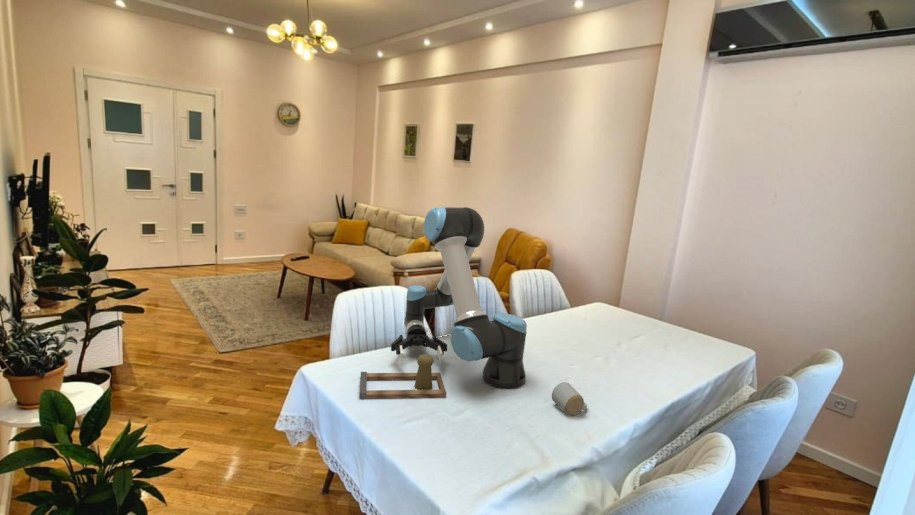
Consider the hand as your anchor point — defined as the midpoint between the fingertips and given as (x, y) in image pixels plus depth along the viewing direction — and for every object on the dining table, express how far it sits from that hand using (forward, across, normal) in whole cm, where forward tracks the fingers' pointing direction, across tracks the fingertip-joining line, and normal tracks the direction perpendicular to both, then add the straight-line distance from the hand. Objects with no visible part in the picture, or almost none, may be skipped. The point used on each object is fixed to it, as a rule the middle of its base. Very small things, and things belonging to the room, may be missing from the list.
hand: (421, 357), depth 156 cm
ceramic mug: (+22, -46, -7) cm, 51 cm away
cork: (+8, 0, -7) cm, 11 cm away
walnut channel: (+8, +6, -7) cm, 12 cm away
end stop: (+8, +19, -7) cm, 22 cm away
